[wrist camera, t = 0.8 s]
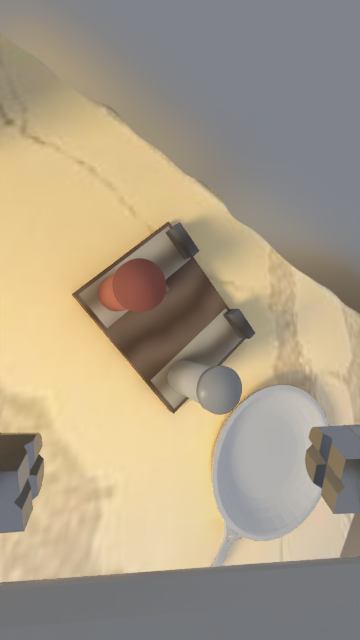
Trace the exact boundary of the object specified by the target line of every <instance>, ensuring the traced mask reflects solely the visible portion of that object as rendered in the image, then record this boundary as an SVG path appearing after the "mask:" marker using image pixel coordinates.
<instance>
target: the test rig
mask: <svg viewBox="0 0 360 640" xmlns="http://www.w3.org/2000/svg"><path fill="white" fill-rule="evenodd" d="M198 252H199V250H198V248H197V247H196V245H195V244H194V242H193V241H192V239H191V238H190V236H189V235H188V233H187V232H186V230H185V229H184V228H183V226H182V225H181V223H180V222H179V223H178V224H176V225H175V226H173V227H172V226H171V224H170V223H169V222H167V223H166V224H165V225H163V226H162V227H161V228H159V229H158V230H157V231H155V232H154V233H153V234H151V235H150V236H149V237H147V238H146V239H145V240H143V241H142V242H141V243H139V244H138V245H137V246H135V247H134V248H133V249H131V250H130V251H129V252H127V253H126V254H125V255H123V256H122V257H121V258H120V259H118V260H117V261H116V262H114V263H113V264H112V265H110V266H109V267H108V268H106V269H105V270H104V271H102V272H101V273H100V274H98V275H97V276H96V277H94V278H93V279H92V280H90V281H89V282H88V283H86V284H85V285H84V286H82V287H81V288H80V289H79V290H77V291H76V292H75V293H73V294H72V295H73V296H74V298H75V299H76V300H77V301H78V302H79V304H80V305H81V306H82V307H83V308H84V310H85V311H86V312H87V313H88V314H89V315H90V317H91V318H92V319H93V320H94V321H95V323H96V324H97V325H98V326H99V327H100V329H101V330H102V331H103V332H104V333H105V334H106V336H107V337H108V338H109V339H110V340H111V342H112V343H113V344H114V345H115V346H116V348H117V349H118V350H119V351H120V352H121V353H122V355H123V356H124V357H125V358H126V359H127V361H128V362H129V363H130V364H131V365H132V367H133V368H134V369H135V370H136V371H137V372H138V374H139V375H140V376H141V377H142V378H143V380H144V381H145V382H146V383H147V384H148V386H149V387H150V388H151V389H152V390H153V392H154V393H155V394H156V395H157V396H158V397H159V399H160V400H161V401H162V402H163V403H164V405H165V406H166V407H167V408H168V409H169V411H171V412H172V413H175V412H176V411H177V410H178V409H179V407H180V406H181V405H182V404H183V403H184V402H185V401H186V400H187V399H188V398H187V397H185V396H183V395H181V394H179V393H177V392H175V391H173V390H172V389H171V388H170V386H169V384H168V380H167V376H168V372H169V369H170V368H171V366H172V365H173V364H174V363H176V362H178V361H181V360H185V361H190V362H194V363H198V364H202V365H207V366H211V367H212V366H216V365H221V364H222V363H223V362H224V361H225V360H226V359H227V358H228V357H229V355H230V354H231V353H232V352H233V351H234V350H235V349H236V348H237V347H238V346H239V345H240V344H241V343H242V342H243V341H244V340H245V339H246V338H247V339H250V338H251V337H252V336H253V335H254V334H255V332H254V330H253V329H252V327H251V326H250V324H249V323H248V321H247V320H246V319H245V317H244V316H243V314H242V313H241V311H240V310H239V309H229V308H228V307H227V305H226V304H225V302H224V301H223V299H222V298H221V296H220V295H219V294H218V292H217V291H216V289H215V288H214V286H213V285H212V283H211V282H210V281H209V279H208V278H207V276H206V275H205V273H204V272H203V270H202V269H201V268H200V266H199V265H198V263H197V262H196V260H195V259H194V257H193V256H194V255H195V254H196V253H198ZM136 258H143V259H147V260H150V261H152V262H154V263H155V264H156V265H157V266H158V267H159V268H160V269H161V270H162V272H163V274H164V276H165V280H166V293H165V296H164V298H163V300H162V302H161V303H160V304H159V305H158V306H157V307H156V308H154V309H152V310H150V311H145V312H133V311H130V310H125V311H111V310H108V309H107V308H105V307H104V306H103V305H102V303H101V302H100V300H99V296H98V290H99V286H100V284H101V283H102V281H103V280H104V279H106V278H107V277H109V276H111V275H113V274H114V273H116V271H117V270H118V268H119V267H120V266H121V265H123V264H124V263H126V262H127V261H129V260H132V259H136Z"/></svg>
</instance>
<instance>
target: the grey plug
mask: <svg viewBox="0 0 360 640" xmlns="http://www.w3.org/2000/svg"><path fill="white" fill-rule="evenodd" d="M167 380H168V384H169V386H170V388H171V389H172V390H173V391H175V392H177V393H179V394H181V395H183V396H185V397H187V398H190V399H192V400H194V401H196V402H198V403H200V404H201V406H202V407H203V408H204V409H206V410H207V411H209V412H212V413H214V414H218V415H221V414H226V413H228V412H230V411H231V410H233V409H234V408H235V406H236V405H237V404H238V402H239V400H240V397H241V393H242V384H241V380H240V378H239V376H238V374H237V373H236V372H235V371H234V370H233V369H231V368H229V367H225V366H220V365H216V366H212V367H211V366H207V365H202V364H198V363H194V362H190V361H185V360H181V361H178V362H176V363H174V364H173V365H172V366H171V368H170V369H169V372H168V376H167Z"/></svg>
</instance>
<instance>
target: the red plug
mask: <svg viewBox="0 0 360 640" xmlns="http://www.w3.org/2000/svg"><path fill="white" fill-rule="evenodd" d="M165 293H166V280H165V276H164V274H163V272H162V270H161V269H160V268H159V267H158V266H157V265H156V264H155V263H154V262H152V261H150V260H147V259H143V258H136V259H132V260H129V261H127V262H126V263H124V264H123V265H121V266H120V267H119V268H118V270H117V271H116V273H114V274H113V275H111V276H109V277H107V278H106V279H104V280H103V281H102V283H101V284H100V286H99V290H98V296H99V300H100V302H101V303H102V305H103V306H104V307H105V308H107V309H108V310H111V311H125V310H130V311H133V312H145V311H150V310H152V309H154V308H156V307H157V306H158V305H159V304H160V303H161V302H162V300H163V298H164V296H165Z"/></svg>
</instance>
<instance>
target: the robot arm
mask: <svg viewBox="0 0 360 640" xmlns="http://www.w3.org/2000/svg"><path fill="white" fill-rule="evenodd" d="M309 440H310V442H311V443H312V445H311V446H310V447H309V448H308V449H307V450H306V456H305V464H306V470H307V473H308V475H309V477H310V479H311V480H312V482H313V483H314V484H316V485H317V486H319V487H320V488H322V491H321V496H322V497H323V499H324V500H325V502H326V503H327V505H328V506H329V508H330V509H331V511H332V512H333V514H343V513H360V425H358V424H357V425H343V426H321V427H312V429H311V430H310V433H309ZM41 448H42V437H41V435H40V433H0V533H8V532H20V531H24V530H25V527H26V525H27V522H28V520H29V517H30V515H31V512H32V510H33V505H32V500H33V499H34V498H35V497H36V496H38V494H39V492H40V489H41V486H42V481H43V476H44V459H43V458H42V457H41V456H40V455H39V452H40V450H41ZM0 640H360V556H359V557H358V556H357V557H343V558H329V559H314V560H300V561H286V562H272V563H259V564H245V565H232V566H218V567H205V568H191V569H178V570H165V571H151V572H138V573H124V574H110V575H97V576H83V577H70V578H56V579H42V580H29V581H15V582H2V583H0Z"/></svg>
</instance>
